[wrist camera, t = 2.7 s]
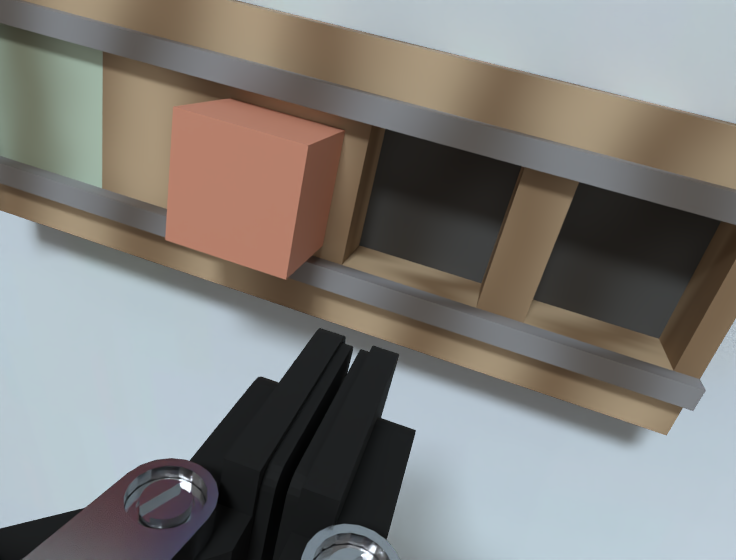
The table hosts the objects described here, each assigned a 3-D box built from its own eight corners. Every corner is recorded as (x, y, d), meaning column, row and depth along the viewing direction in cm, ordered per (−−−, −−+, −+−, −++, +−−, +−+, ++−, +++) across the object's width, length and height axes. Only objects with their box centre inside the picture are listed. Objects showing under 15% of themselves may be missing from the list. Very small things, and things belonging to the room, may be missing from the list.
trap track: (793, 138, 20) (889, 168, 15) (652, 394, 25) (684, 486, 20) (17, -54, 25) (-120, -83, 20) (31, 191, 30) (-76, 220, 25)
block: (345, 130, 21) (308, 145, 18) (322, 245, 24) (285, 279, 20) (230, 97, 22) (172, 106, 19) (218, 212, 24) (165, 240, 21)
